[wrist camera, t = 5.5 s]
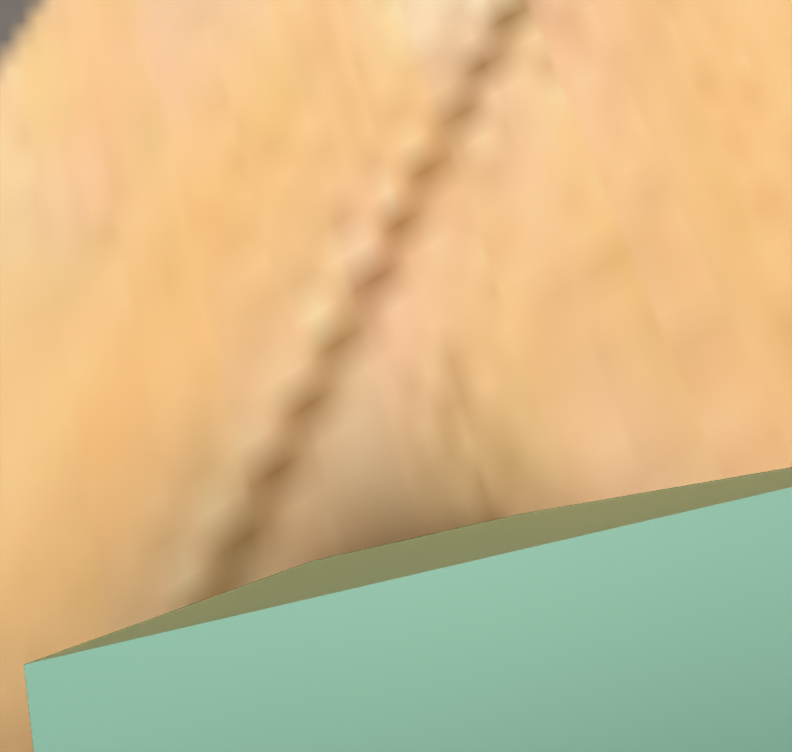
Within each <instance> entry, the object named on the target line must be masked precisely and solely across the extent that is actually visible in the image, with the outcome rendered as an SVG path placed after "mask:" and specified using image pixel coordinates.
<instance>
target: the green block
mask: <svg viewBox="0 0 792 752" xmlns="http://www.w3.org/2000/svg"><path fill="white" fill-rule="evenodd" d="M24 669H25V678H26V687H27V696H28V705H29V713H30V722H31V731H32V740H33V749H34V752H792V467H791V468H785V469H779V470H773V471H768V472H762V473H756V474H750V475H744V476H738V477H733V478H727V479H721V480H715V481H709V482H704V483H698V484H692V485H686V486H680V487H674V488H669V489H663V490H657V491H651V492H645V493H639V494H634V495H628V496H622V497H616V498H610V499H605V500H599V501H593V502H587V503H581V504H575V505H570V506H564V507H558V508H552V509H546V510H541V511H535V512H529V513H523V514H518V515H514V516H509V517H505V518H500V519H496V520H492V521H487V522H483V523H478V524H474V525H470V526H465V527H461V528H456V529H452V530H448V531H443V532H439V533H434V534H430V535H426V536H421V537H417V538H412V539H408V540H404V541H399V542H395V543H390V544H386V545H382V546H377V547H373V548H368V549H364V550H360V551H355V552H351V553H346V554H342V555H338V556H333V557H329V558H324V559H320V560H316V561H311V562H308V563H305V564H303V565H300V566H297V567H294V568H291V569H289V570H286V571H283V572H280V573H278V574H275V575H272V576H269V577H266V578H264V579H261V580H258V581H255V582H253V583H250V584H247V585H244V586H241V587H239V588H236V589H233V590H230V591H227V592H225V593H222V594H219V595H216V596H214V597H211V598H208V599H205V600H202V601H200V602H197V603H194V604H191V605H189V606H186V607H183V608H180V609H177V610H175V611H172V612H169V613H166V614H164V615H161V616H158V617H155V618H152V619H150V620H147V621H144V622H141V623H138V624H136V625H133V626H130V627H127V628H125V629H122V630H119V631H116V632H113V633H111V634H108V635H105V636H102V637H100V638H97V639H94V640H91V641H88V642H86V643H83V644H80V645H77V646H74V647H72V648H69V649H66V650H63V651H61V652H58V653H55V654H52V655H49V656H47V657H44V658H41V659H38V660H36V661H33V662H30V663H27V664H24Z"/></svg>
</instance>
